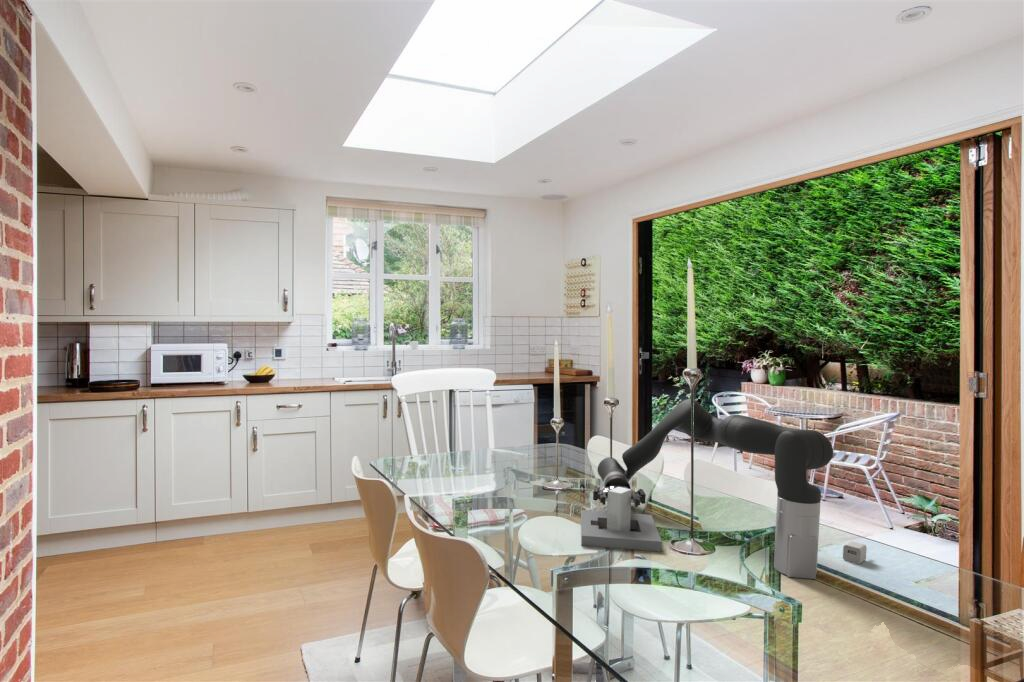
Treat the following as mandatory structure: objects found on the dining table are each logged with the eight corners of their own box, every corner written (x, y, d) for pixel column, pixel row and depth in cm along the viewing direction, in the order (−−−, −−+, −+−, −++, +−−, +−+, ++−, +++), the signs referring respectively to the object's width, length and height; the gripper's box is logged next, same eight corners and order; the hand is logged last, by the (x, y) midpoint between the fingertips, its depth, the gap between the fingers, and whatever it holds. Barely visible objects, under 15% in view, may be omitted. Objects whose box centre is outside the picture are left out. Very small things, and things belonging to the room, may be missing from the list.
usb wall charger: (842, 560, 153) (843, 544, 153) (851, 553, 158) (852, 538, 158) (860, 565, 151) (861, 548, 150) (869, 558, 155) (869, 542, 155)
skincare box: (616, 529, 170) (618, 486, 170) (630, 532, 167) (632, 489, 167) (605, 534, 165) (607, 490, 165) (619, 538, 162) (621, 493, 162)
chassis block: (661, 551, 154) (662, 541, 154) (581, 545, 156) (581, 535, 156) (651, 523, 176) (651, 514, 176) (580, 518, 178) (581, 509, 178)
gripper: (592, 472, 181) (594, 486, 164) (641, 475, 179) (648, 489, 163) (591, 497, 181) (593, 514, 165) (640, 501, 179) (647, 518, 163)
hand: (620, 502), depth 164 cm, fingers open, 8 cm apart
